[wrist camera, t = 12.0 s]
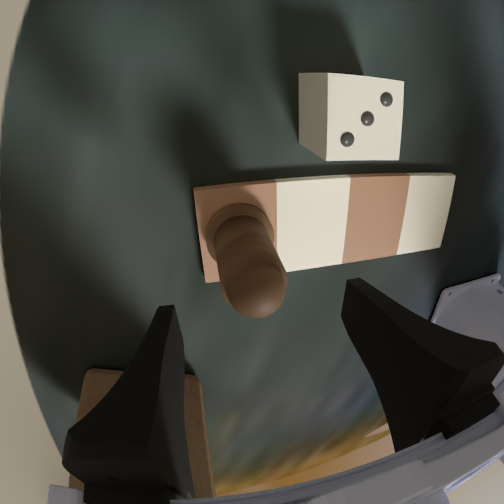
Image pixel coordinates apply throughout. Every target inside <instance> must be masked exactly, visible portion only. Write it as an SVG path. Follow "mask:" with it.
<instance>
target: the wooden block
mask: <svg viewBox="0 0 504 504" xmlns="http://www.w3.org/2000/svg"><path fill="white" fill-rule="evenodd" d="M123 372H124V371H118V370H107V369H97V368H94V369H89V370H88V371H87V372H86V374H85V377H84V381H83V386H82V391H81V396H80V402H79V407H78V413H77V419H76V423H77V422H78V421H80V420H81V419H82V418H83V417H84V416H85V415H87V414H88V413H89V412H90V411H91V410H92V409H93V408H94V407H95V406H96V405H97V404H98V403H99V402H100V400H101V399H102V398H103V397H104V396H105V395H106V394H107V393H108V392H109V390H110V389H111V388H112V387H113V385H114V384H115V383H116V382H117V380H118V379H119V378H120V376H121V375H122V373H123ZM184 421H185V431H186V439H187V447H188V455H189V461H190V468H191V474H192V479H193V485H194V490H195V495H196V499H198V498H211V497H216V493H215V486H214V480H213V473H212V466H211V459H210V452H209V444H208V436H207V428H206V420H205V411H204V402H203V392H202V386H201V384H200V382H199V381H198V378H197V377H196V376H193V375H190V374H185V377H184ZM69 487H70V488H76V489H80V490H82V491H84V483H83V482H81V481H80V480H79V479H77V478H76V477H75V476H73V475H72V474H71V473H70V477H69Z"/></svg>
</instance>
